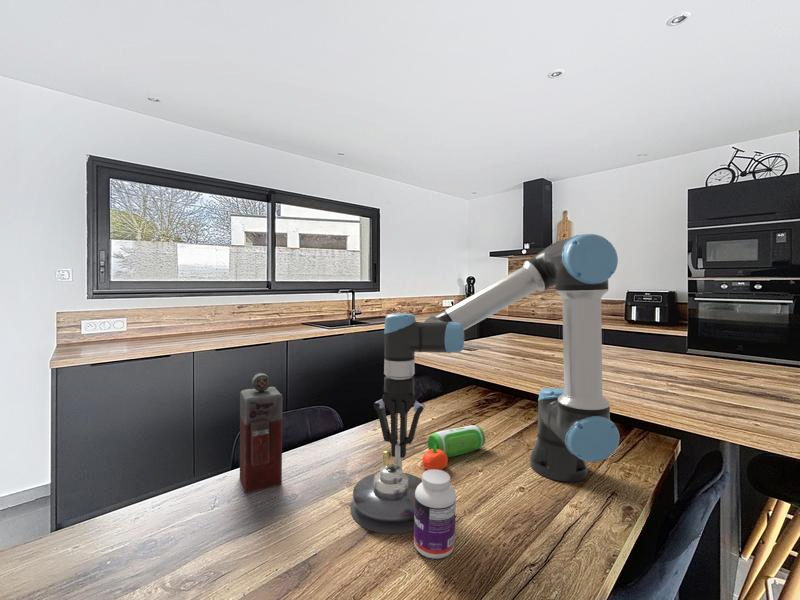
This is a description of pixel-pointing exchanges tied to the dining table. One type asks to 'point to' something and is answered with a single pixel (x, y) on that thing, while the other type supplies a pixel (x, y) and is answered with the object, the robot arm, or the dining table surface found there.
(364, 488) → the turntable
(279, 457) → the vintage gas pump
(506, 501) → the dining table surface
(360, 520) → the turntable base
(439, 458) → the pumpkin
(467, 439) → the speaker
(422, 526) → the pill bottle
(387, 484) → the cover
